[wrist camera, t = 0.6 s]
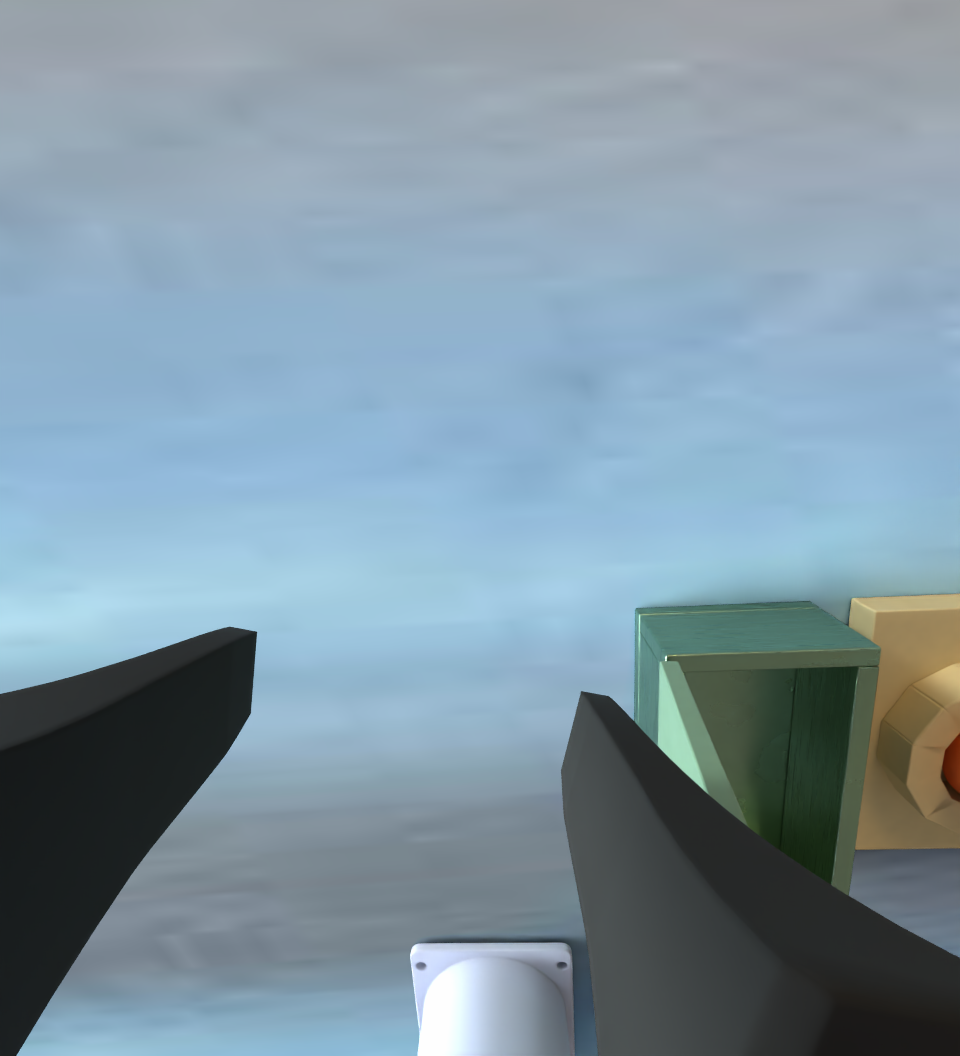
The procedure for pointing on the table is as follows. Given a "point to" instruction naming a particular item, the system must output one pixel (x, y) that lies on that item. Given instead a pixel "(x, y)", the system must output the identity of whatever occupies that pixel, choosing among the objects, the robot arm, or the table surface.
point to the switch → (952, 763)
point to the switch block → (911, 722)
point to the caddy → (774, 715)
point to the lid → (691, 738)
